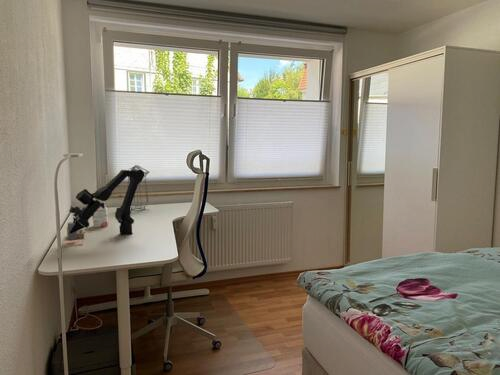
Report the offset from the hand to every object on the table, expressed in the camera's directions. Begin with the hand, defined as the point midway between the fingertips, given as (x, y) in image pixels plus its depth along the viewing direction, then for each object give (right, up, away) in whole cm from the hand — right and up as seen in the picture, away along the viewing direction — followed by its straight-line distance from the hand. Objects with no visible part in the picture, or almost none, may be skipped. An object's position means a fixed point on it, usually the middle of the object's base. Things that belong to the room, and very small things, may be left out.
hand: (69, 232), depth 197 cm
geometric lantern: (+8, +6, +94) cm, 95 cm away
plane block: (-3, -4, +15) cm, 16 cm away
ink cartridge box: (0, -1, +41) cm, 41 cm away
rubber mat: (+1, -6, +2) cm, 7 cm away
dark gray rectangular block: (+1, -4, +1) cm, 4 cm away
